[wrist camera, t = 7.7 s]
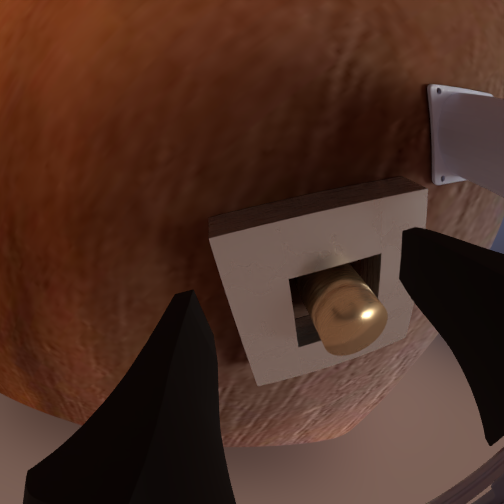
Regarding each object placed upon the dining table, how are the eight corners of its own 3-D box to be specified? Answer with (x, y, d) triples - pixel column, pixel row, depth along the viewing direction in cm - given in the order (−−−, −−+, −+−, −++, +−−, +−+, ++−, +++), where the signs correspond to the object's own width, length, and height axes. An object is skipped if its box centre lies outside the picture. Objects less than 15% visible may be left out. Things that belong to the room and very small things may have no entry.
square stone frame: (402, 176, 18) (427, 188, 15) (391, 317, 24) (405, 337, 22) (208, 217, 17) (208, 238, 15) (252, 360, 24) (257, 386, 21)
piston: (343, 243, 20) (386, 290, 14) (353, 286, 22) (388, 336, 16) (288, 267, 20) (316, 323, 15) (304, 308, 22) (330, 364, 17)
